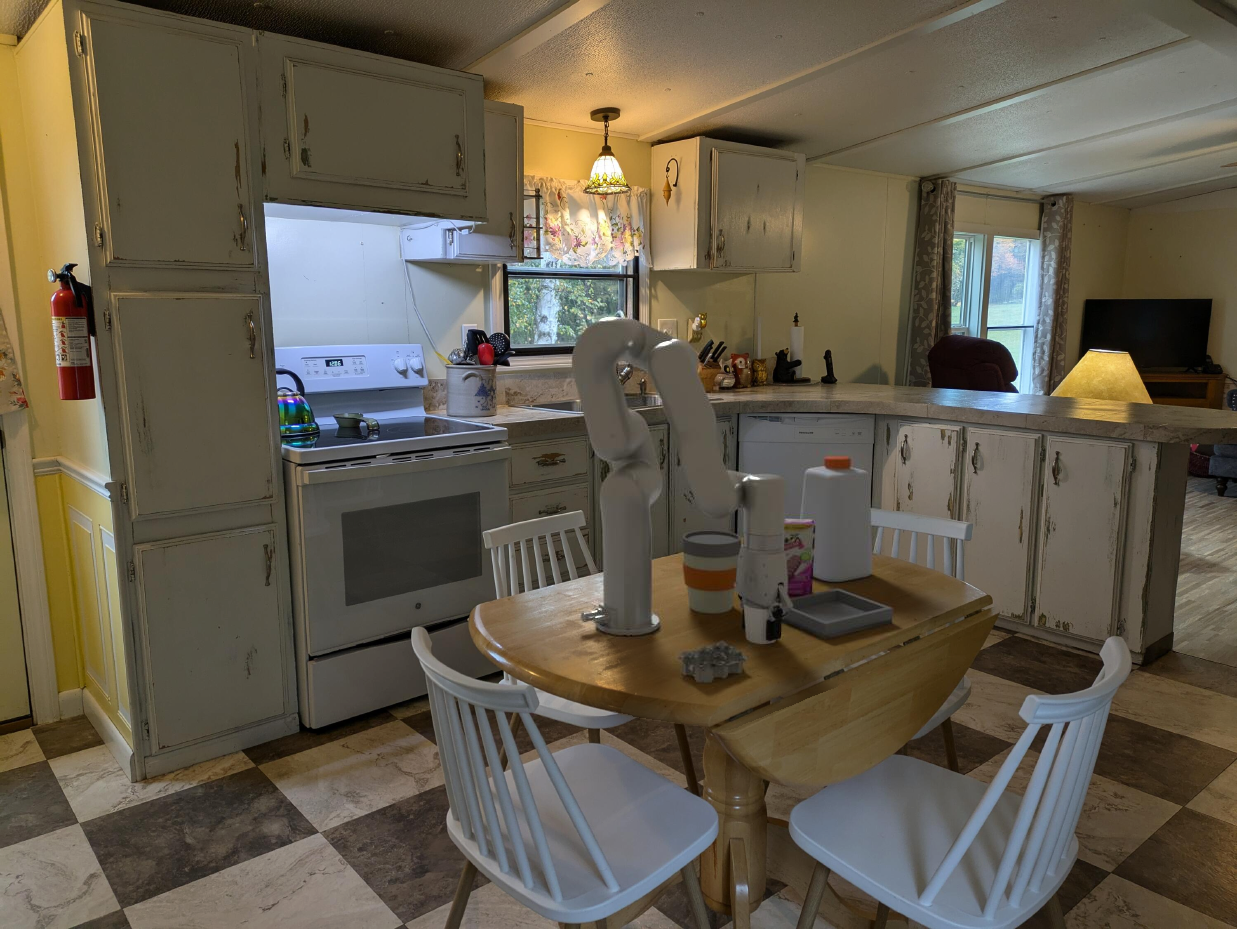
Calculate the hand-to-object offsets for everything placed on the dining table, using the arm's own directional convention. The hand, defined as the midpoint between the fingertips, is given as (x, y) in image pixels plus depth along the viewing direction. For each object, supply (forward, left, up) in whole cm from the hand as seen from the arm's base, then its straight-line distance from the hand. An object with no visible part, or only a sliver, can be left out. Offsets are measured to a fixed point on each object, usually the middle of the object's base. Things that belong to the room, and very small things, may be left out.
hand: (761, 632), depth 159 cm
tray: (+19, +1, -1) cm, 19 cm away
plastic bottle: (+43, +25, -1) cm, 50 cm away
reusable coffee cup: (+3, +20, -1) cm, 20 cm away
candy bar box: (+23, +19, -1) cm, 30 cm away
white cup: (0, 0, -1) cm, 1 cm away
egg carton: (-17, -8, -2) cm, 19 cm away
